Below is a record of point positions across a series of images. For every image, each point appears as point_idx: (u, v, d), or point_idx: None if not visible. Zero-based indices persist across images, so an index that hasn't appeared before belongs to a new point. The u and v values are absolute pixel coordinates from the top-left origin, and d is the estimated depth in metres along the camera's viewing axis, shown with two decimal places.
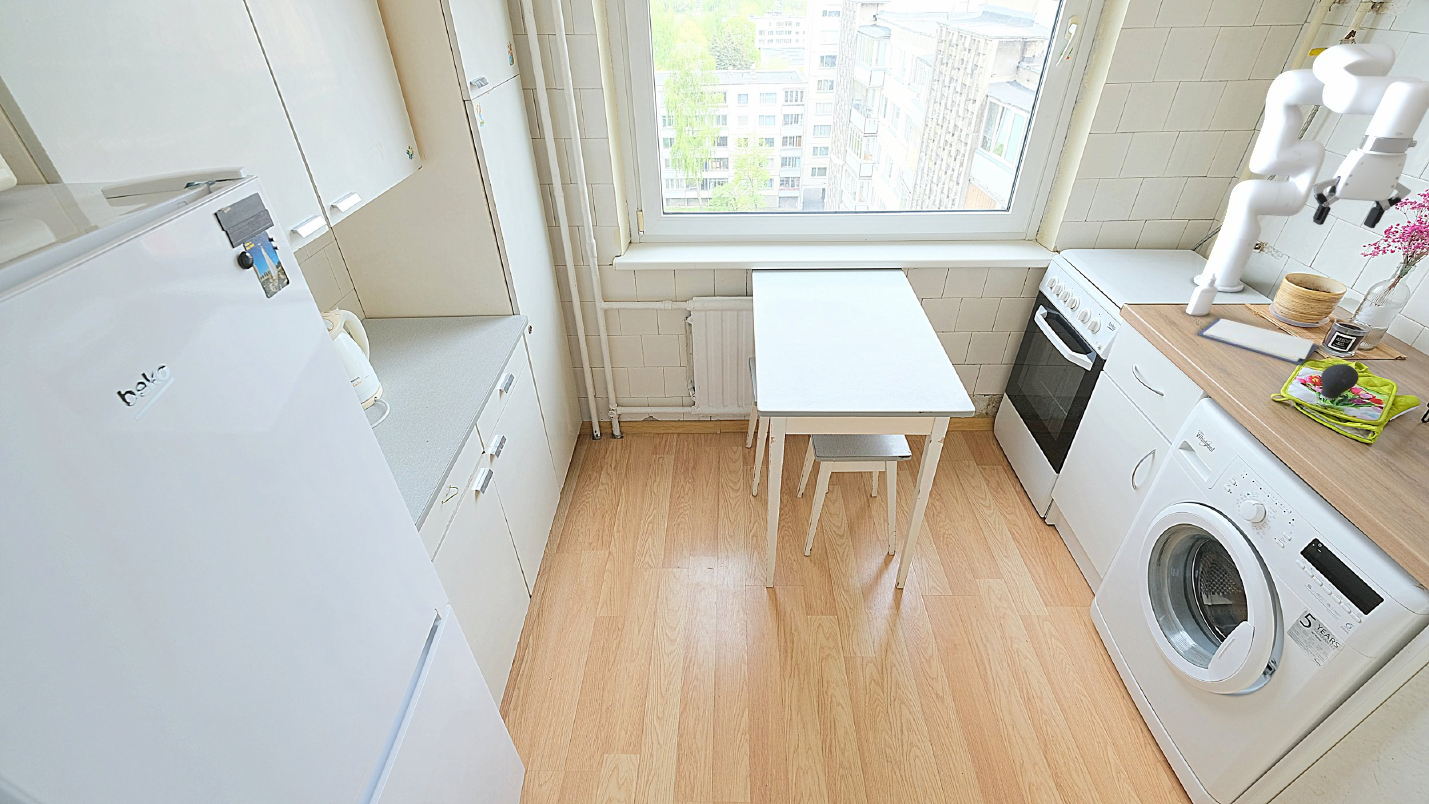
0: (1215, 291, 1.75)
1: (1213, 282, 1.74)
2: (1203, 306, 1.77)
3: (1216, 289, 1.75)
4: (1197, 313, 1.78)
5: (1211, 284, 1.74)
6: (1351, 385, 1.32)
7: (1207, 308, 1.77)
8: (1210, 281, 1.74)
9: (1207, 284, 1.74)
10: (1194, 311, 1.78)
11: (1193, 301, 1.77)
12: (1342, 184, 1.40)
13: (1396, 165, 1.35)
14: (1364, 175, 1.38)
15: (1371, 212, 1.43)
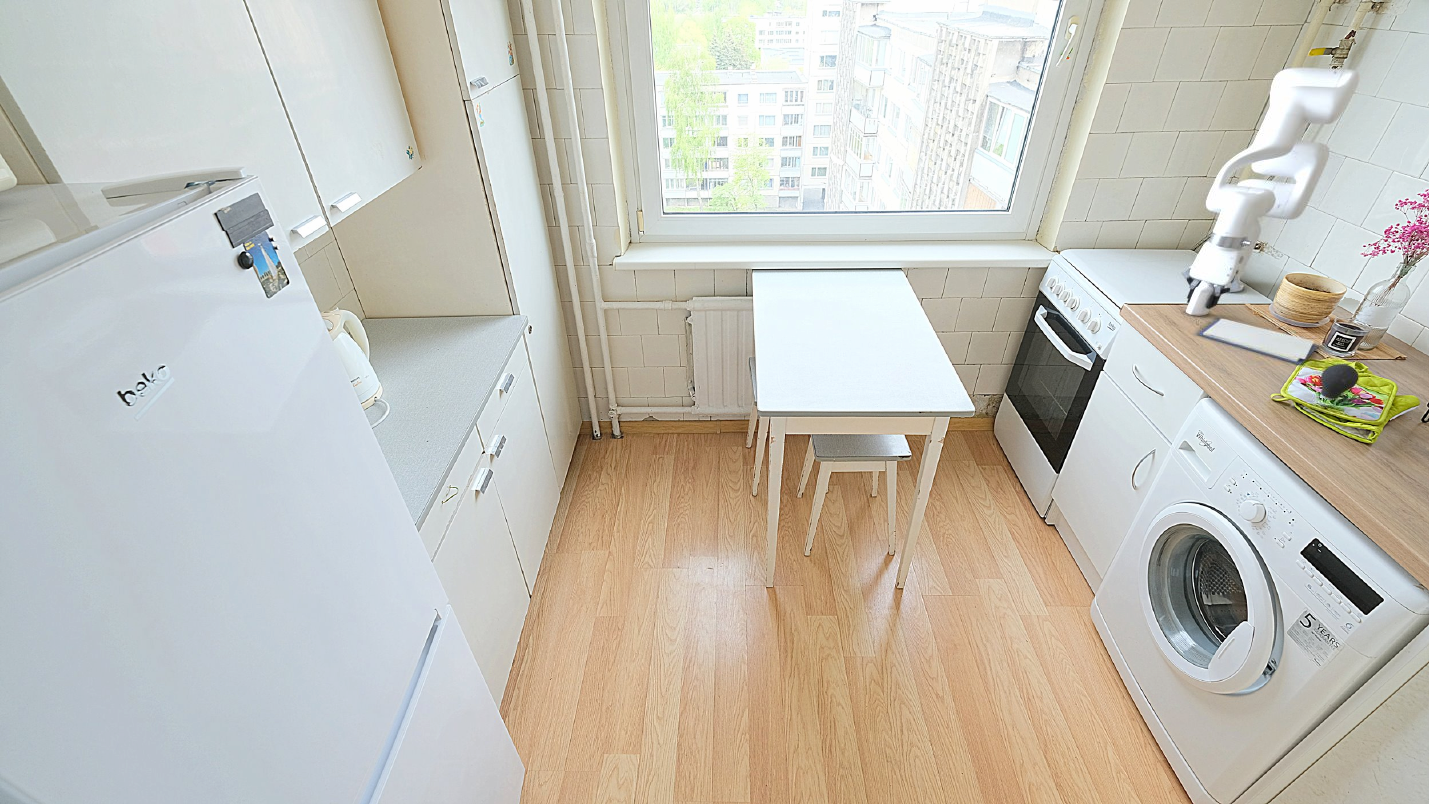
0: None
1: None
2: (1203, 306, 1.77)
3: None
4: (1197, 313, 1.78)
5: (1211, 284, 1.74)
6: (1351, 385, 1.32)
7: None
8: None
9: (1207, 284, 1.74)
10: (1194, 311, 1.78)
11: (1193, 301, 1.77)
12: (1192, 266, 1.75)
13: (1229, 258, 1.68)
14: (1206, 261, 1.72)
15: None
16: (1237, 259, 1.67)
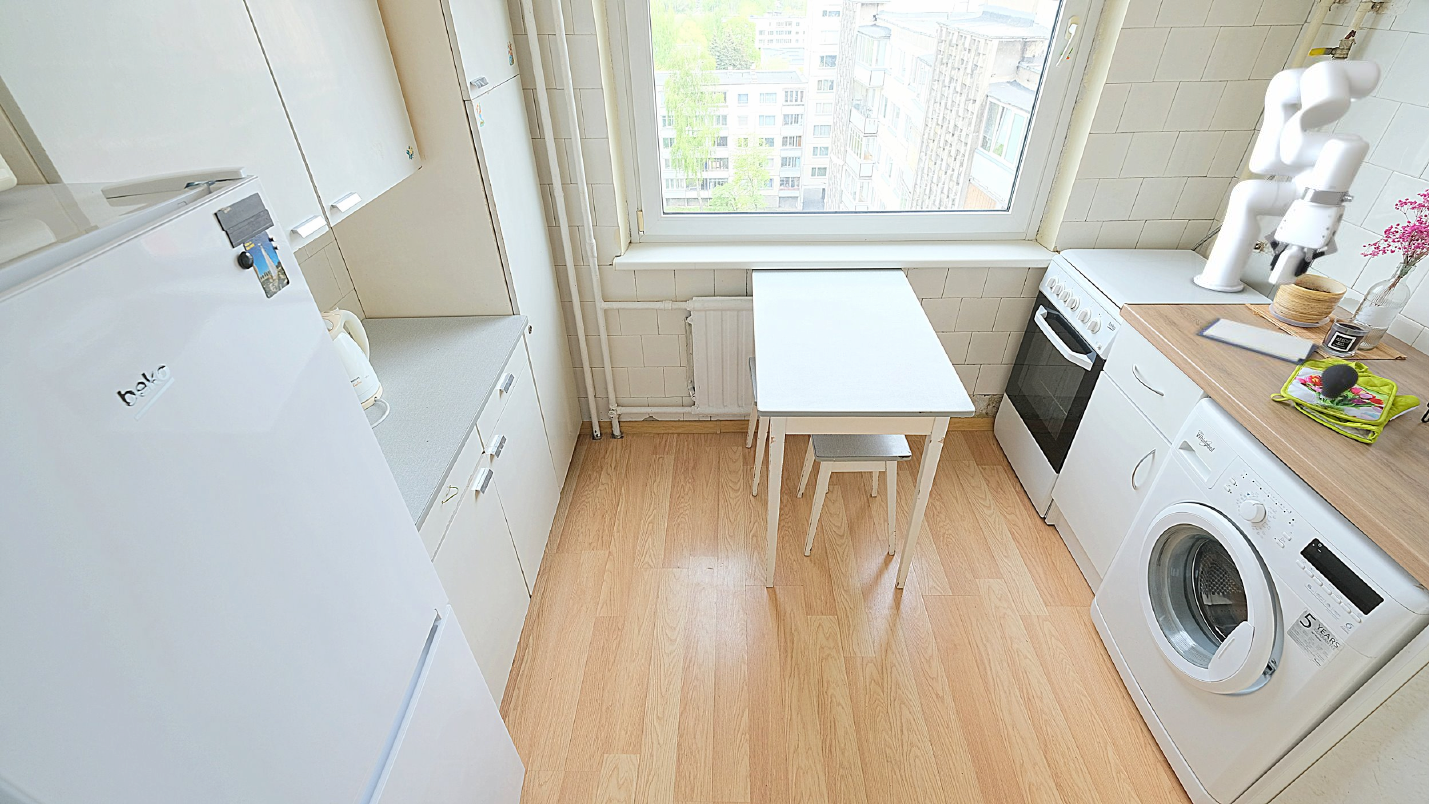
0: (1305, 256, 1.52)
1: None
2: (1290, 274, 1.54)
3: None
4: (1283, 282, 1.55)
5: (1301, 248, 1.51)
6: (1351, 385, 1.32)
7: (1294, 276, 1.55)
8: None
9: (1296, 248, 1.52)
10: (1280, 280, 1.55)
11: (1278, 268, 1.55)
12: (1278, 227, 1.53)
13: (1325, 216, 1.45)
14: (1297, 221, 1.50)
15: None
16: (1335, 217, 1.44)
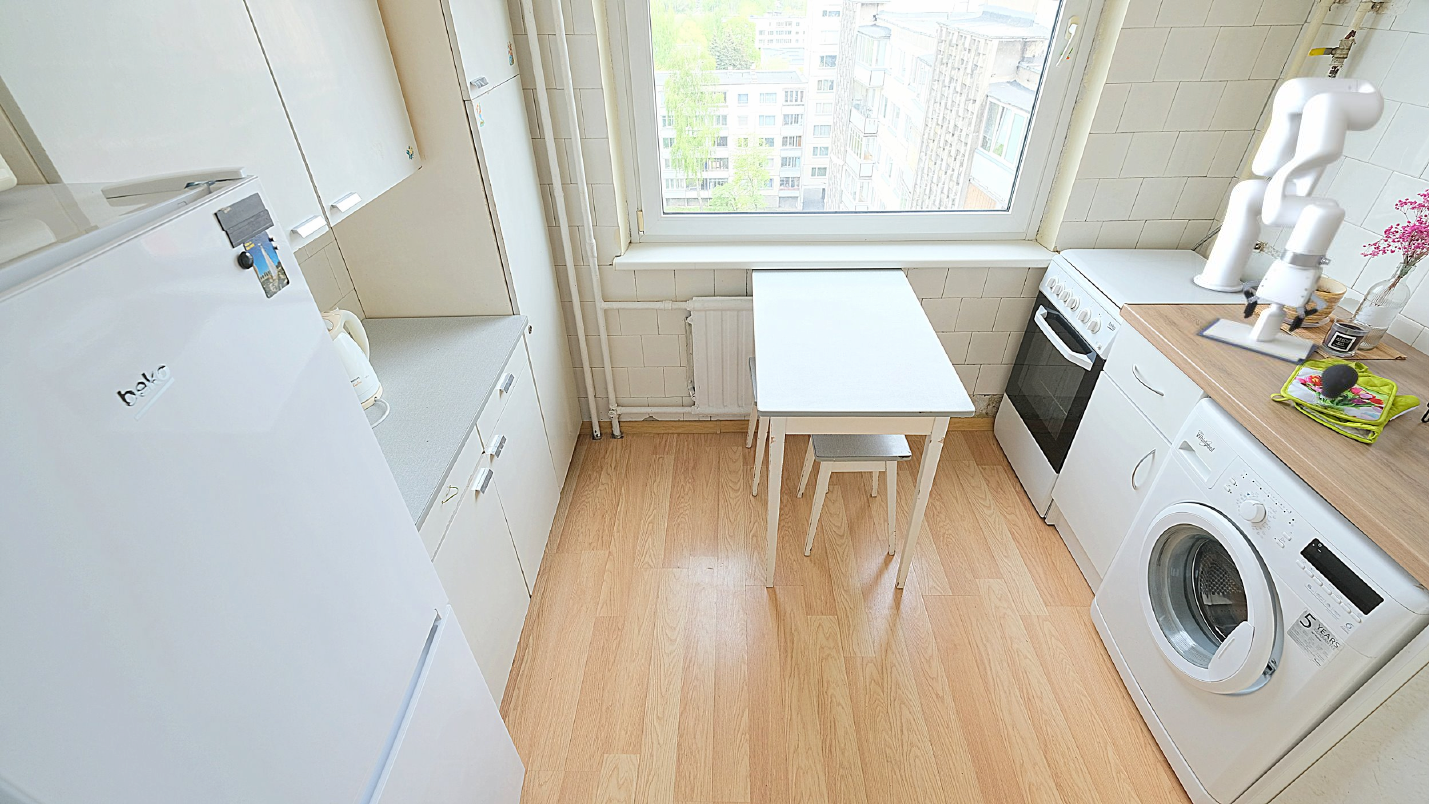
0: (1285, 315, 1.59)
1: (1283, 305, 1.57)
2: (1270, 331, 1.60)
3: (1285, 313, 1.58)
4: (1263, 339, 1.61)
5: (1280, 307, 1.58)
6: (1351, 385, 1.32)
7: (1274, 333, 1.61)
8: (1279, 304, 1.57)
9: (1276, 307, 1.58)
10: (1260, 337, 1.61)
11: (1259, 326, 1.61)
12: (1260, 285, 1.59)
13: (1304, 277, 1.51)
14: (1277, 280, 1.55)
15: None
16: (1313, 279, 1.50)
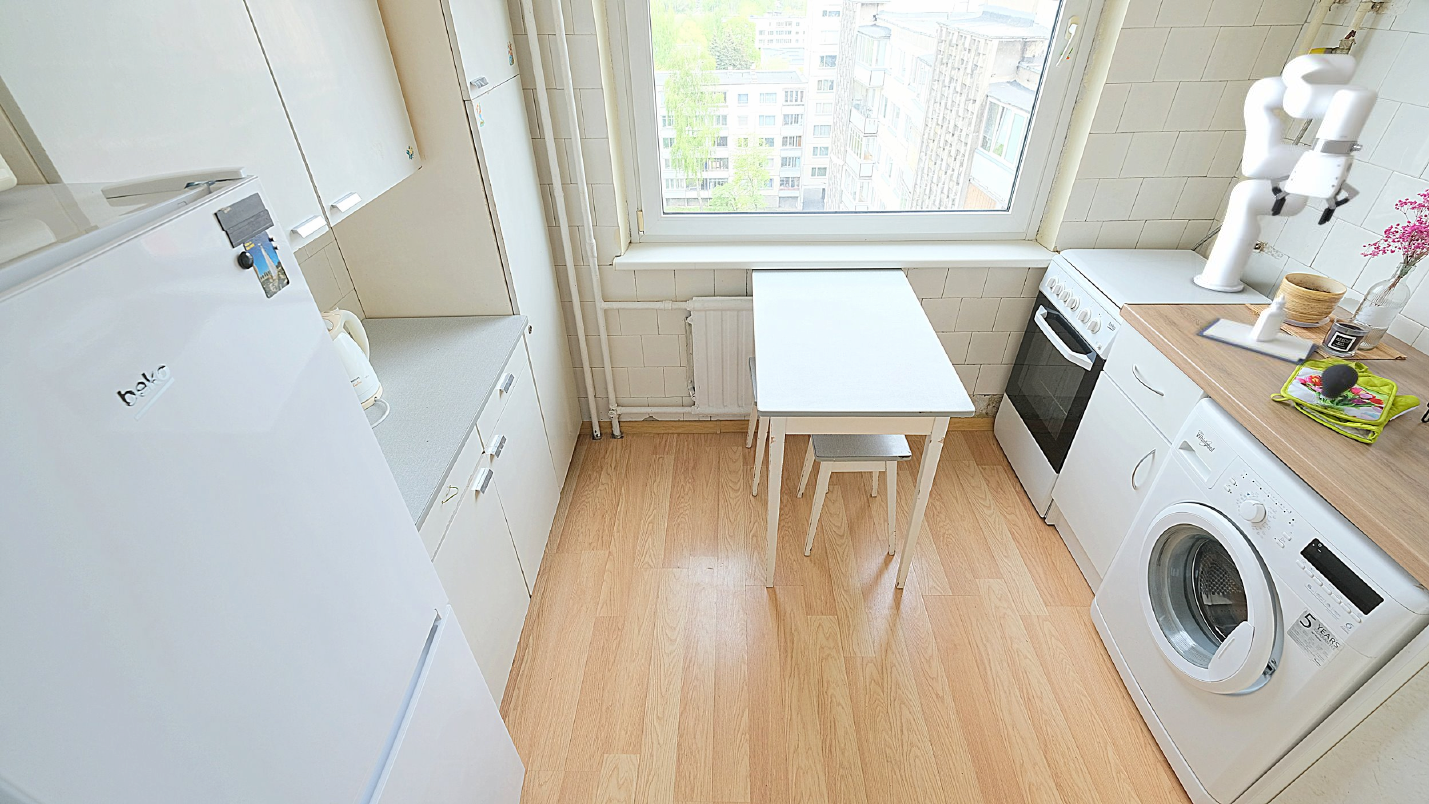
0: (1285, 315, 1.59)
1: (1283, 305, 1.57)
2: (1270, 331, 1.60)
3: (1285, 313, 1.58)
4: (1263, 339, 1.61)
5: (1280, 307, 1.58)
6: (1351, 385, 1.32)
7: (1274, 333, 1.61)
8: (1279, 304, 1.57)
9: (1276, 307, 1.58)
10: (1260, 337, 1.61)
11: (1259, 326, 1.61)
12: (1289, 179, 1.57)
13: (1335, 165, 1.49)
14: (1307, 172, 1.54)
15: None
16: (1345, 166, 1.48)
